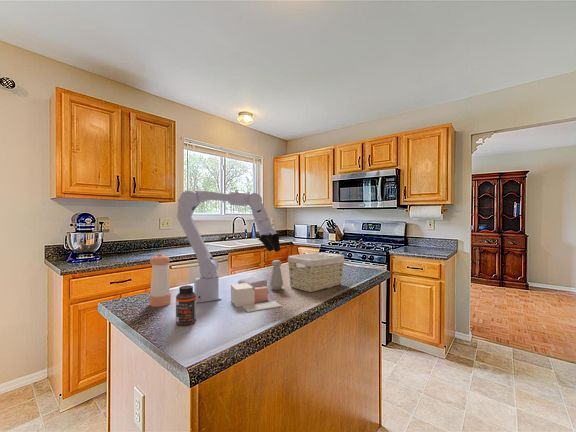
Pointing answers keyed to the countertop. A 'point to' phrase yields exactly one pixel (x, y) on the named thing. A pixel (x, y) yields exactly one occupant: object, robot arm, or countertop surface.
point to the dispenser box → (242, 294)
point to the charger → (254, 282)
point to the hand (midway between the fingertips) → (274, 250)
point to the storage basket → (315, 271)
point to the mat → (261, 306)
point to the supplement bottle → (185, 306)
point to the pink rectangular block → (261, 293)
